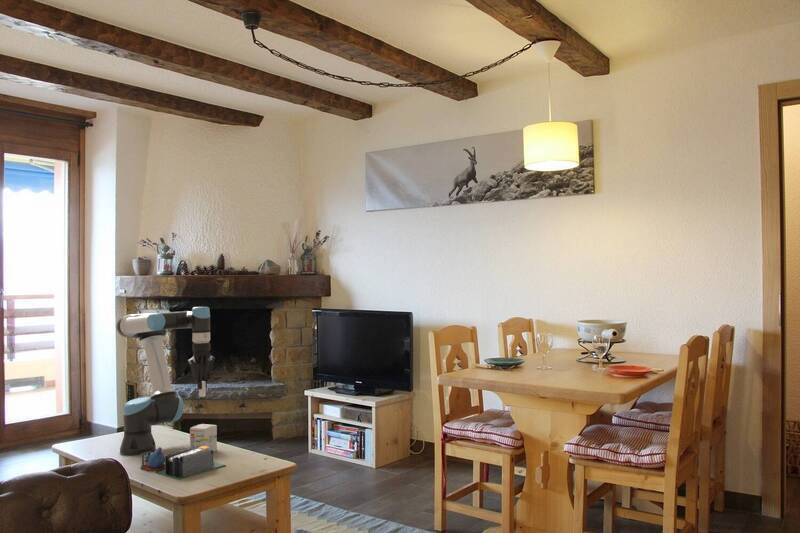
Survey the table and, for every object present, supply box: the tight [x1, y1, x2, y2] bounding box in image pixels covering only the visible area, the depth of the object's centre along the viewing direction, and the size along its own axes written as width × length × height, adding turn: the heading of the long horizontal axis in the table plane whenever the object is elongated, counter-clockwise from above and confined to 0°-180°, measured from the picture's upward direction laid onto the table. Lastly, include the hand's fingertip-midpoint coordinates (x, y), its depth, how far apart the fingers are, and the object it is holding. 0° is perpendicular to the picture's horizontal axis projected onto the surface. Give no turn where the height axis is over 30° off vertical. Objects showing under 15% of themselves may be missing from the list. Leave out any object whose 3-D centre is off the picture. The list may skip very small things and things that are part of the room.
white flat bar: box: [167, 446, 210, 462], centre depth 265 cm, size 17×4×2 cm, turn 142°
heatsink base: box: [155, 447, 227, 480], centre depth 267 cm, size 16×22×8 cm
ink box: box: [189, 423, 218, 453], centre depth 295 cm, size 9×8×12 cm
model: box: [139, 446, 165, 473], centre depth 271 cm, size 12×9×9 cm
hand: (202, 396), depth 286 cm, fingers closed
